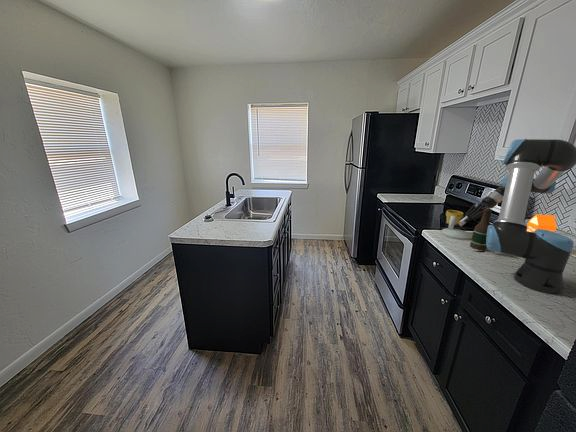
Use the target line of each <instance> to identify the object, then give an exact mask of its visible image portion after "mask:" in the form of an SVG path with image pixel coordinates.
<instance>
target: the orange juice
mask: <svg viewBox="0 0 576 432" xmlns="http://www.w3.org/2000/svg"><path fill="white" fill-rule="evenodd" d="M526 226H527V231H528V232H534V231H535V230H536V229H543V230H548V231H552V232H556V230H557V222H556V217H555V215H553V214H551V215H550V214H538V213H537V214H535V215H534V216H533V217H531V218H530V219H529V221H528V222H527V224H526Z"/></svg>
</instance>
